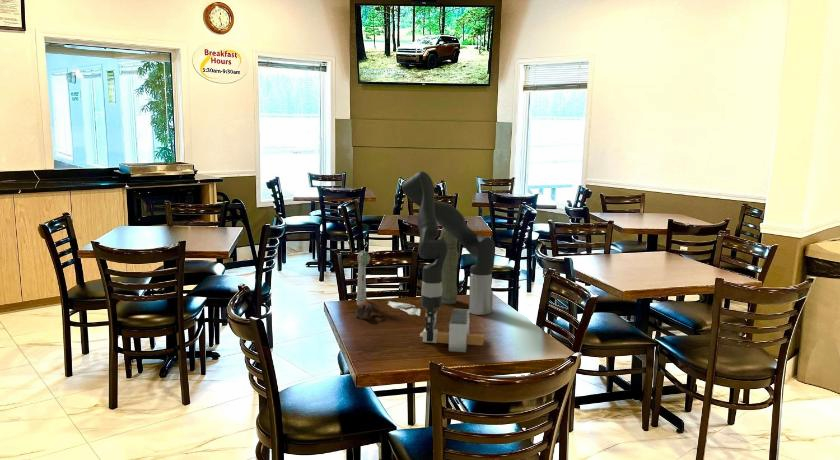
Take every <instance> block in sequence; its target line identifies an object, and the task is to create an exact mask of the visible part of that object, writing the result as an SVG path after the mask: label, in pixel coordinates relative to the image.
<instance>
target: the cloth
mask: <svg viewBox="0 0 840 460" xmlns="http://www.w3.org/2000/svg"><path fill="white" fill-rule="evenodd" d="M387 305H388V306H390V307H391V308H392V309H398V310H399V309H400V310H399V311H403V312H405V313H407V314H408V315H411V316H413V315H414V316H416V315H417V316H419V317H420V316H421V309H420V308H416V306H415V305H413V304H410V303H404V302H395V301H391V300H388V303H387Z"/></svg>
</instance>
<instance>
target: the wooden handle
mask: <svg viewBox="0 0 840 460" xmlns="http://www.w3.org/2000/svg"><path fill="white" fill-rule="evenodd" d="M484 335H485V334H482V333H480V334H479V333H469V334H468V333H467V346H470V345H471V346H484V344H485V343H484V340H485V339H484V337H485V336H484ZM419 337H421V338H422V343H430V344H432V343H433V344H437V343H438V344H439V343H441V344H449V331H447V332H446V331H439V330H438V328H435V329H434V331H433V341H427V331H426V327H425V328H424V329H423V331H422V332H420V333H419Z"/></svg>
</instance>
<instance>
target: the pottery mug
mask: <svg viewBox="0 0 840 460" xmlns="http://www.w3.org/2000/svg"><path fill="white" fill-rule="evenodd" d="M380 308H381V305H379V304H378V303H376V302H374V301H372V300H370V299H368V298H367V299H365V301H363V302H361V303H360V304H359V306H357V309H356V313H355V316H356V317H357V318H359V319H361V320H363V319H364V318H365V319H367V318H368V319H369V318H370V316H371V314H372V312H373V310H375V311H377V312H378V314H377V316H378V317H380V314H381V309H380Z"/></svg>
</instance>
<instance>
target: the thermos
mask: <svg viewBox="0 0 840 460" xmlns="http://www.w3.org/2000/svg"><path fill="white" fill-rule="evenodd" d="M441 227H442V226H441ZM437 239H442V240H444V241H445V242H446V243H447V247H448V250H447V255H446V258H445V261H444V264H443V268H442V305H454V304H457V298H458V286H457V276H458V275H457V273H458V272H457V271H458V266H459V259H460V256H461V243H460V242H459V240H457V239H456V238H455V237H454V236H453V235H451V234H450V233H449V232H448V231H447V230H446V229H444V228H443V227H442V228H441V231H440V236H438V238H437Z"/></svg>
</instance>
